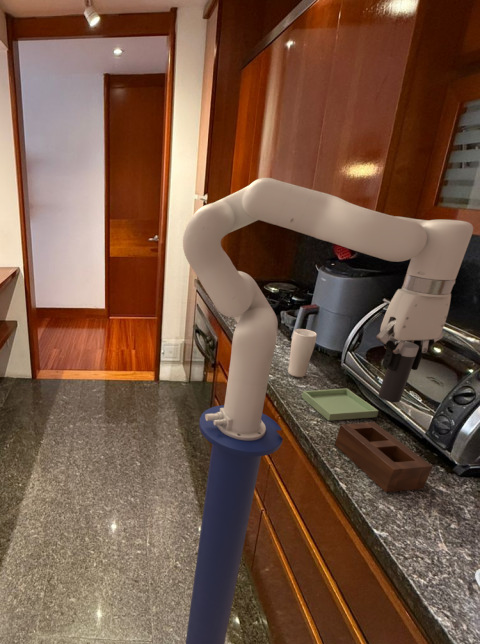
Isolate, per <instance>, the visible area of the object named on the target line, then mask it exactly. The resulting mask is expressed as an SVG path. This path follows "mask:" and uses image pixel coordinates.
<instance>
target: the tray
mask: <svg viewBox="0 0 480 644" xmlns="http://www.w3.org/2000/svg"><path fill="white" fill-rule="evenodd" d="M301 398H302V399H303V400H304V401H305V402H306V403H308V404H309V405H310V406H311V407H312V408H313V409H315V411H316V412H318V413H319V414H320V415H321V416H322V417H324V418H325V419H326V420H327V421H329V422H330V421H343V420H356V419H357V420H359V419H369V418H377V417H378V415H379V410H378V409H377V408H375V407H374V406H373V405H371V404H370V403H369V402H367V401H365V400H364V399H363V398H362V397H360V396H359V395H357V394H356V393H354V392H353V391H351V390H350V389H349V388H332V389H329V388H328V389H316V390H315V389H314V390H303V391H302V394H301Z"/></svg>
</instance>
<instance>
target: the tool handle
mask: <svg viewBox="0 0 480 644" xmlns="http://www.w3.org/2000/svg"><path fill="white" fill-rule="evenodd" d="M411 342H412V341H411ZM411 342H410V341H408V340H407V341H405V343H404V345H403V347H402V349H401V350H400V352H399V353H400V354H401V358H400V361H399V364H398V367H397V370H396V371H392V370H390V369H388V368H386V370H385V373H384V376H383V379H382V382H381V385H380V389H379V391H378V397H379V398H380V399H381V400H384V401H386V402H390V403H400V402H401V399H402V397H403V394H404V391H405V388H406V386H407V382H408V380H409V377H410V374H411V372H412V370H413V369H412V366H413V363H414V360H415V357H416V354H417V351H418V349H419V346H418V345H416V344H414V343H411ZM396 343H397V341H396V340H395V341H394V344H395V345H396Z"/></svg>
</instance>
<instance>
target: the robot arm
mask: <svg viewBox="0 0 480 644" xmlns="http://www.w3.org/2000/svg"><path fill="white" fill-rule="evenodd" d="M257 221H262V222H264V223H267V224H271V225H275V226H278V227H281V228H285V229H288V230H292V231H294V232H297V233H299V234H300V233H301V234H303V235H306V236H308V237H309V236H310V237H313V238H314V239H317V240H321V241H324V242H328V243H331V244H335V245H338V246H341V247H343V248H346V249H349V250H352V251H355V252H357V253H361V254H364V255H368V256H371V257H375V258H378V259H381V260H384V261H388V262H397V263H399V262H405V261H408V260H409V264H408V267H407V271H406V274H405V276H404V279H403V283H402V286H401V288H398V289H397V290H396V291H395V293H394V295H393V297H392V298H391V299H390V303H388V307H387V310H386V311H385V313H384V316H383V319H382V322H381V324H380V329H379V330H380V331H379V333H378V334H377V335H376V336H375V338H376V339H377V341H379V342H380V343H382V345H383V347H384V349H386V351H385V354H384V357H383V359H382V363H381V365H382V366H383V367H385V368H386V369H387V368H388V369H390V370H392V371H396V370H397V367H398V364H399V361H400V358H401V354H400V353H399V352H400V350H401V349H402V347H403V345H404V343H405V341H407V342H408V341H411V343H414V344H416V345H418V346H419V349H418V351H417V354H416V357H415V360H414V363H413V366H412V369H411V370H412V371H417V370H418V369H419V367H420V363H421V360H422V357H423V355H424V354H426V353H427V352H428V349H429V348H430V347H431V346H432V345H434V344H435V343H436V342H437V341H440V340H442V339H443V338H444V334H443V329H444V327H445V324H446V321H447V318H448V315H449V311H450V305H451V299H452V290H453V287H454V285H455V284H456V279H457V276H458V274H459V271H460V268H461V265H462V263H463V260H464V257H465V255H466V253H467V252H466V251H467V249H468V246H469V244H470V241H471V238H472V235H473V233H474V226H473V224H472V223H470V222H469V221H466V220H458V219H457V220H456V219H430V220H427V219H417V218H412V217H405V216H399V215H398V216H396V215H395V216H394V215H390V214H387V213H383V212H380V211H376V210H373V209H370V208H365V207H363V206H360V205H357V204H354V203H351V202H349V201H347V200H344V199H343V198H340V197H339V196H336V195H333V194H329V193H327V192H322V191H320V190H319V191H318V190H315V189H311V188H308V187H303V186H300V185H296V184H292V183H289V182H286V181H285V182H284V181H282V180H278V179H275V178H272V177H261V178H257V179H255V180H254V181H252V182H251V183H250V184H248V185H247V186H245V187H243V188H241V189H240V190H237V191H236V192H233V193H231V194H229V195H227V196H224V197H223V198H221V199H219V200H216V201H215V202H211V203H208V204H205V205H203V206H201V207H200V208H198V209H197V210H196V211H195V212H194V213H193V214H192V216H191V217H190V219H189V221H188V222H187V224H186V226H185V229H184V232H183V236H182V248H183V253H184V256H185V258H186V260H187V262H188V264H189V266H190V268H191V270H192V271H193V272H194V274H195V276H196V278H197V279H198V280H199V282H200V284H201V286H202V287H203V289H204V291H205V292H206V294H207V295H208V297H209V299H210V300H211V303H212V304H213V305H214V307H215V309H216V310H217V311H218V312H219V314H221V315H223V316H225V317H227V318H233V320H234V321H235V322H236V326H235V329H234V332H233V336H232V340H231V341H232V342H231V353H230V362H229V368H228V376H227V385H226V390H225V398H224V404H223V405H224V408H220V412H217V413H216V414H206V415H205V419H206V421H213V423H214V425H217V427H218V428H219V430H220V431H221V432H223V433H224V434H226V435H227V436H229V437H232V438H235V439H238V440H244V441H252V440H257V439H260V438H261V437H263V436H264V434H265V431H266V427H265V424H264V423H263V422H262V421H261V417H262V413H263V411H264V405H265V401H266V395H267V389H268V385H269V380H270V379H269V378H270V375H271V374H270V373H271V368H272V363H273V359H274V354H275V350H276V345H277V339H278V326H279V324H278V323H279V321H278V317H277V315H276V313H275V311H274V309H273V307H272V306H271V304H270V302H269V301H268V299H267V298H266V296H265V295H264V293H263V292H262V289H260V287H259V284H258V283H257V282H256V280H255V279H254V278H253V277H252V276H251V275H250V274H248V273H246V272H244V271H241V270H237V268H236V266H235V265H234V264H233V261H232V260H231V258H230V256H229V255H228V254H227V253H226V251H225V250H224V248H223V246H222V239H223V238H225V236H227V235H228V234H230V233H232V232H235V231H237V230H239V229H241V228H244V227H246V226H248V225H251V224H253V223H255V222H257ZM396 341H397V343H396V345H395V342H396Z"/></svg>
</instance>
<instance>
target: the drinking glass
mask: <svg viewBox="0 0 480 644" xmlns="http://www.w3.org/2000/svg"><path fill="white" fill-rule="evenodd" d="M317 337H318V334H317V333H316V332H315V331H313V330H311V329H305V328H297V329H294V330H293V332H292V337H291V342H290V352H289V361H288V368H287V373H288V374H289V375H290V376H292V377H295V378H303V377H305V376H306V375H307V370H308V367H309V364H310V361H311V358H312V355H313V352H314V349H315V346H316V341H317Z"/></svg>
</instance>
